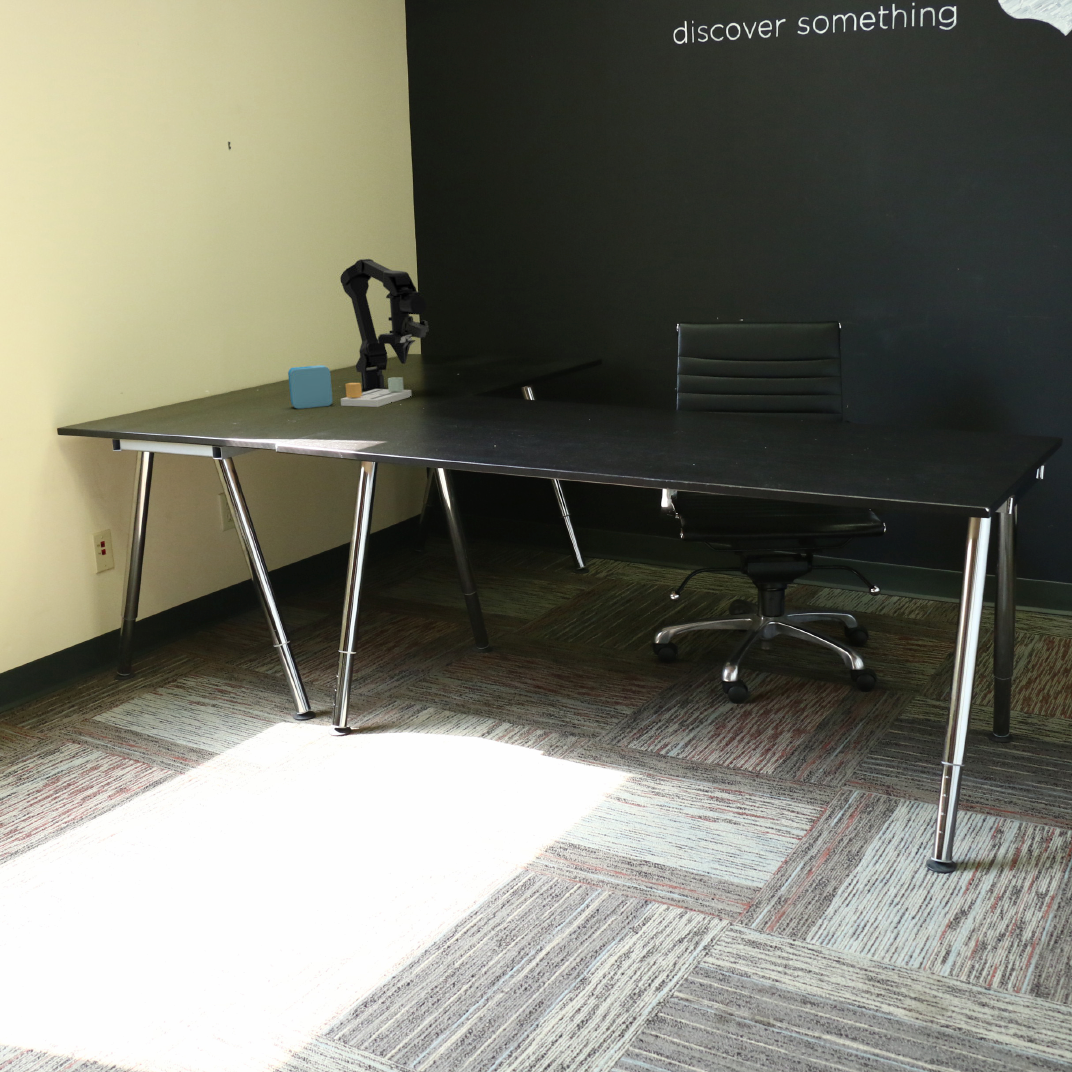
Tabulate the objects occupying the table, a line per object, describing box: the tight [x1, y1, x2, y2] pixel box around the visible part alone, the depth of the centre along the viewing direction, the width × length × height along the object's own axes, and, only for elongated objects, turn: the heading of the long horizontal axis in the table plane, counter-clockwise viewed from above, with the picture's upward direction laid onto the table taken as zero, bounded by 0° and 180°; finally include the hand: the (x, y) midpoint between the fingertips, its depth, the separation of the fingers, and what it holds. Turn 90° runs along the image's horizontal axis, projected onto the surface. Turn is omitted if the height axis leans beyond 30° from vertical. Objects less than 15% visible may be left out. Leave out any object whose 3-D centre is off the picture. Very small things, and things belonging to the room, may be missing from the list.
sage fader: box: [387, 376, 405, 392], centre depth 365 cm, size 4×3×4 cm
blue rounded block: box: [287, 364, 334, 410], centre depth 356 cm, size 12×4×12 cm, turn 110°
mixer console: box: [340, 388, 412, 408], centre depth 362 cm, size 13×20×2 cm, turn 155°
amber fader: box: [345, 382, 363, 398], centre depth 357 cm, size 4×3×4 cm
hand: (403, 363), depth 369 cm, fingers closed
